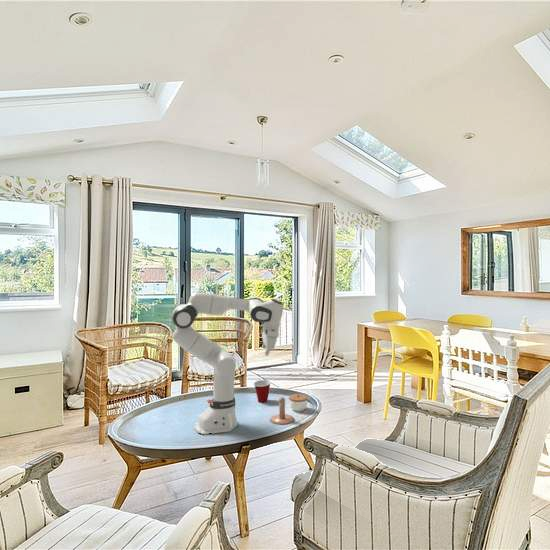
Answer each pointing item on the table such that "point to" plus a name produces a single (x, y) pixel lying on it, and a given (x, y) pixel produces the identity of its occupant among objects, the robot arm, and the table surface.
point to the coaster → (282, 424)
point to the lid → (282, 414)
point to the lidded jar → (298, 402)
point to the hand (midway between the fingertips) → (265, 351)
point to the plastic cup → (262, 390)
